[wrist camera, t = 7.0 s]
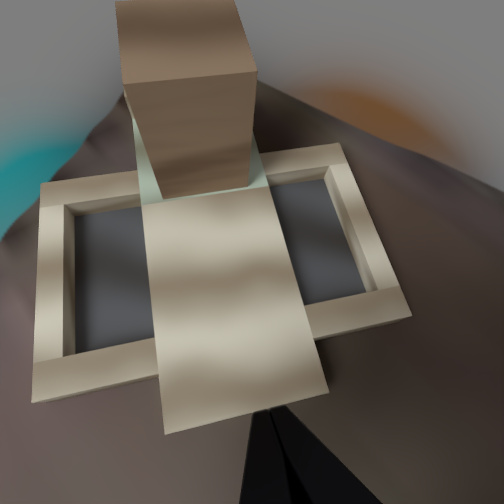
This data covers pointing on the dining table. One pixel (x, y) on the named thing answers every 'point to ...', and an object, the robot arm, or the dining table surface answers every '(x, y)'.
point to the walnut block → (189, 91)
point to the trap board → (206, 284)
